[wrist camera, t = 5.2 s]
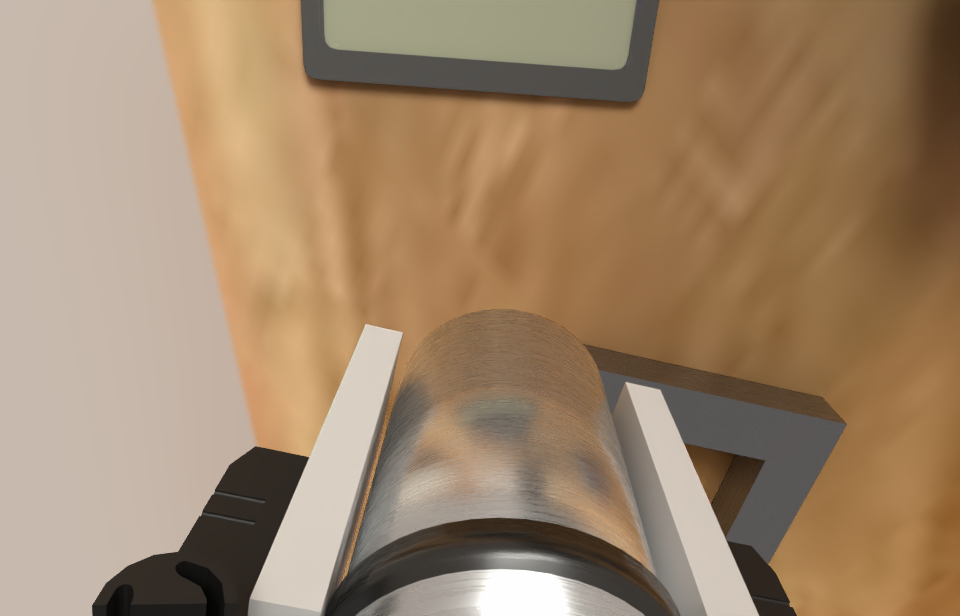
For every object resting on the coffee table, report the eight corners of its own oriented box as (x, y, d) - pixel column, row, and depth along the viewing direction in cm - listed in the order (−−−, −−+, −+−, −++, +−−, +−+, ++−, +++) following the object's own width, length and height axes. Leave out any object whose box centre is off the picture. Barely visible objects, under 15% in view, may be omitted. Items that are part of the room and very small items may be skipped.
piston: (414, 279, 13) (296, 641, 5) (641, 331, 13) (825, 740, 6) (375, 464, 14) (249, 918, 7) (573, 506, 15) (644, 978, 8)
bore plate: (574, 342, 26) (580, 365, 24) (822, 397, 27) (847, 424, 25) (506, 542, 30) (508, 574, 28) (723, 583, 31) (737, 617, 29)
